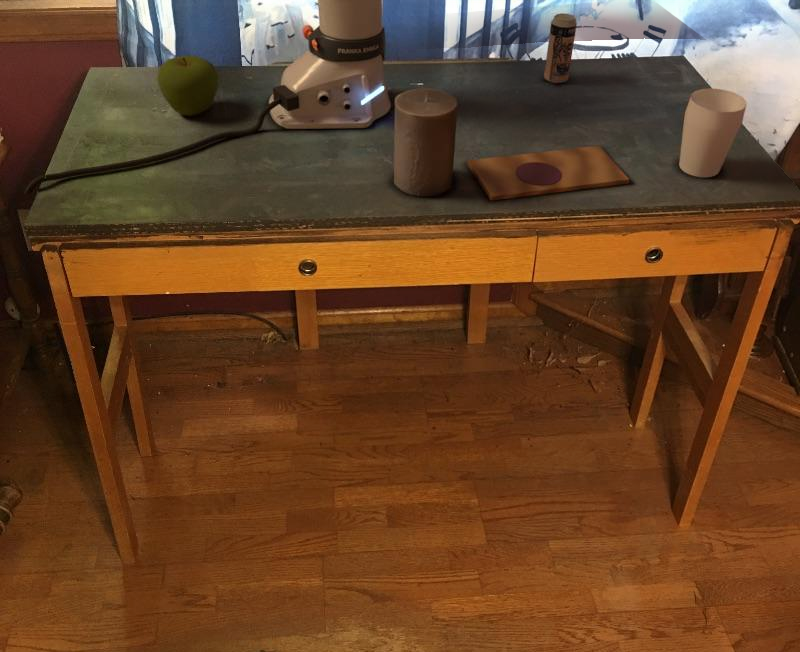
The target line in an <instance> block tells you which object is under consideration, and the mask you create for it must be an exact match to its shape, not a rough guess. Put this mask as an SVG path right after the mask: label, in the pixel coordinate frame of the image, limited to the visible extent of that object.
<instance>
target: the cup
mask: <svg viewBox="0 0 800 652" xmlns="http://www.w3.org/2000/svg"><path fill="white" fill-rule="evenodd" d="M746 109H747V100H746V99H745V98H744V97H742V96H741V95H739V93H736V92H734V91H730V90H726V89H721V88H712V87H711V88H701V89H697V90H695V91H693V92H692V93H691V94H690V97H689V100H688V103H687V106H686V109H685V111H684V119H683V127H682V135H681V143H680V144H681V146H680V153H679V163H678V166H679V168H680V170H682V171H683V172H684V173H685V174H687V175H689V176H692V177H695V178H712V177H715V176H717V175H718V174H719V173H720V171H721V170H722V168H723V167H722V166H723V165H724V163H725V160H726V158H727V157H728V154H729V152H730V150H731V148H732V146H733V144H734V142H735V139H736V137H737V135H738V133H739V131H740V129H741V127H742V124H743V121H744V117H745V111H746Z"/></svg>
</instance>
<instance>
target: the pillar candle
mask: <svg viewBox="0 0 800 652" xmlns="http://www.w3.org/2000/svg"><path fill="white" fill-rule="evenodd" d="M457 121H458V101H457V99H456V97H454V96H453V94H450V93H449V92H447V91H444V90H440V89H436V88H414V89H409V90H406V91H403V92H401V93H400V94H397V95H396V96H395V98H394V138H393V139H394V140H393V148H394V149H393V184H394V186H396V187H397V189H399V190H400V191H402V192H403V193H404V194H407V195H410V196H414V197H420V198H421V197H422V198H423V197H434V196H438V195H441V194H443V193H445V192H447V191H449V190H450V189H451V188H452V186H453V174H454V173H453V172H454V164H455V163H454V162H455V151H456V148H455V147H456V134H457V133H456V132H457Z"/></svg>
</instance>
